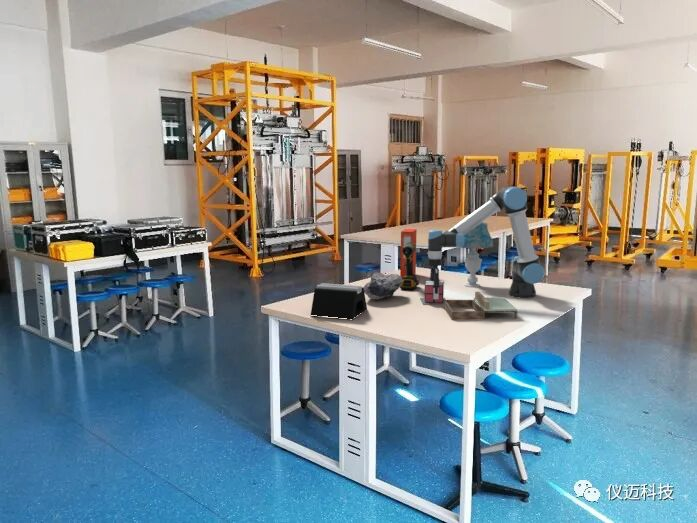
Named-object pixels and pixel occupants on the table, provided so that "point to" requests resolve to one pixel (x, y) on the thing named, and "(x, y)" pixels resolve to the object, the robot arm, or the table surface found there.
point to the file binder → (406, 237)
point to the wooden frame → (466, 314)
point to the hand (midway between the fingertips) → (434, 296)
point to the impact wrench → (409, 268)
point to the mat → (430, 303)
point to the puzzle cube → (429, 292)
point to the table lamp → (474, 240)
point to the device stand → (338, 301)
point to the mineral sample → (382, 285)
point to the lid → (493, 303)
